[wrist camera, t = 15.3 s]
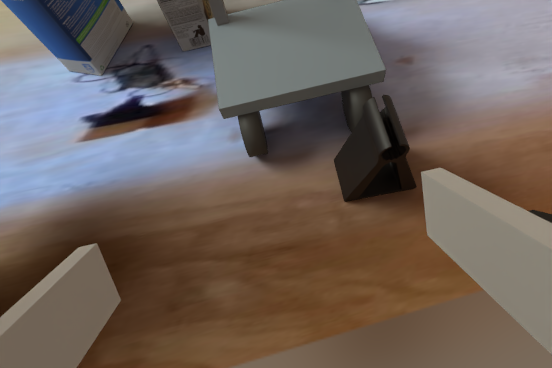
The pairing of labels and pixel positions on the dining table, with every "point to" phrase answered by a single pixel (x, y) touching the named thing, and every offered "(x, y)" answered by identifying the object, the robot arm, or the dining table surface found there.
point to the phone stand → (374, 155)
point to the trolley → (291, 60)
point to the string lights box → (76, 29)
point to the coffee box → (188, 21)
